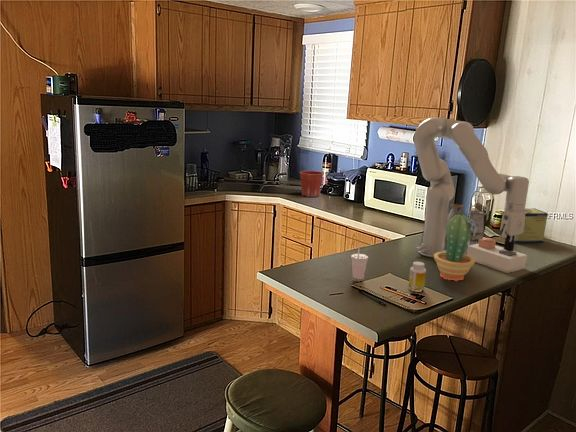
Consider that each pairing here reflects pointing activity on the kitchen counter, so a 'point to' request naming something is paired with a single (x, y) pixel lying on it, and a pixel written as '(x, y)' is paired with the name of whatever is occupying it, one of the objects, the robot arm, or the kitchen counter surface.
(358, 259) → the smoothie
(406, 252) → the kitchen counter surface
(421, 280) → the supplement bottle
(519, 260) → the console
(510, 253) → the charcoal button
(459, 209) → the coffee pot
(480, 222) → the coffee box
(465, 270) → the potted cactus
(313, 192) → the flower pot
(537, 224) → the protein box
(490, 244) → the terracotta button
